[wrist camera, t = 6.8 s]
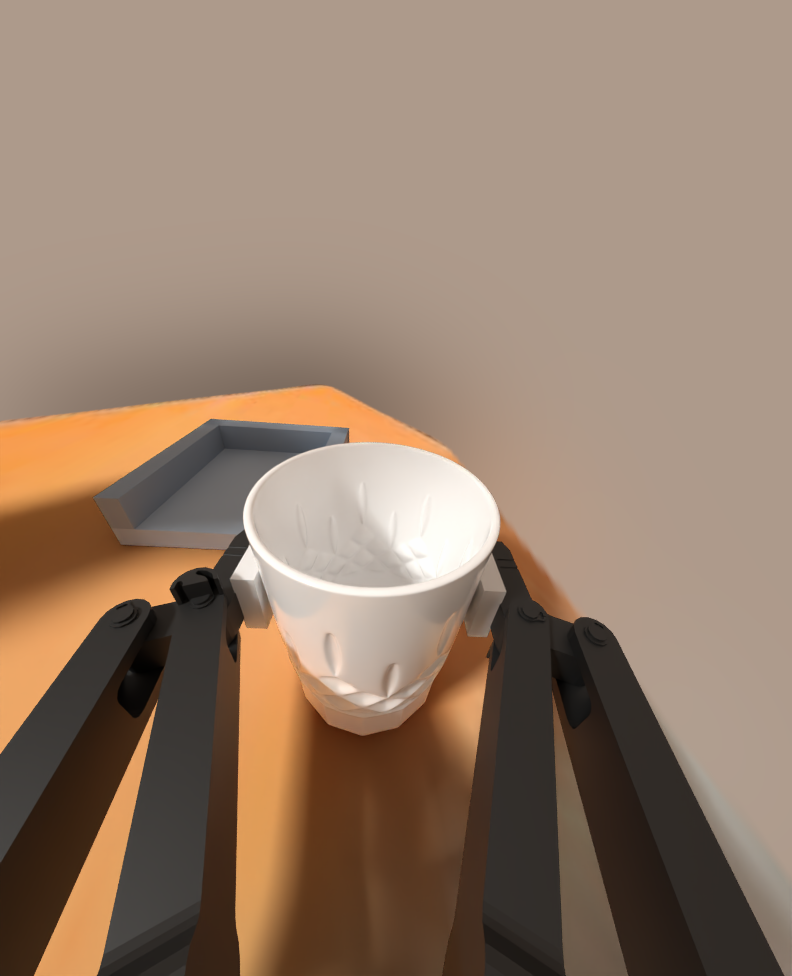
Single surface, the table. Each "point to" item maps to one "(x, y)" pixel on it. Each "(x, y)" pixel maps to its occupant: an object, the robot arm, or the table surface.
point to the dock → (204, 482)
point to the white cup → (369, 572)
